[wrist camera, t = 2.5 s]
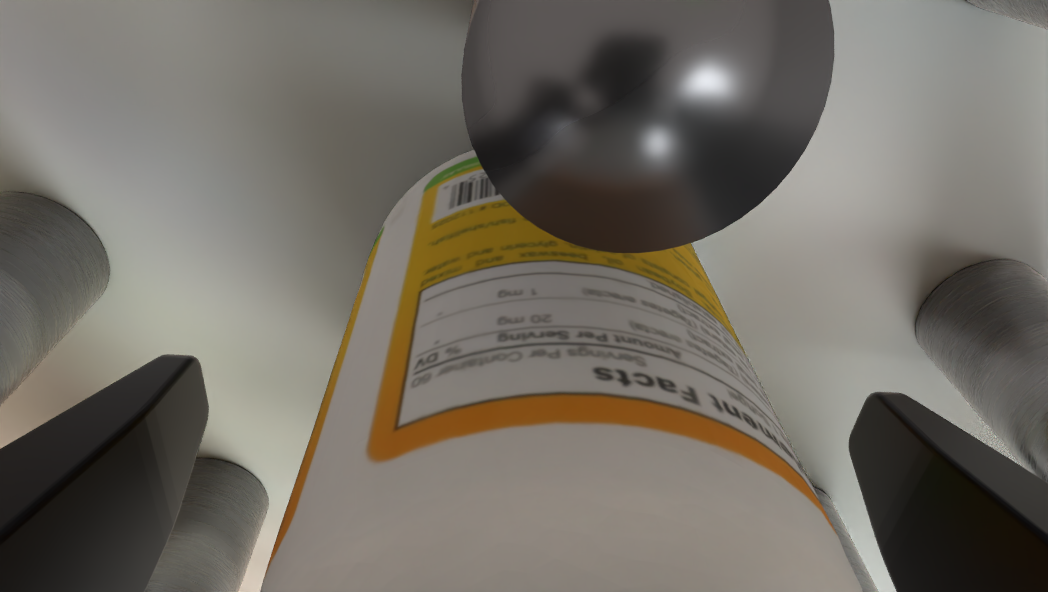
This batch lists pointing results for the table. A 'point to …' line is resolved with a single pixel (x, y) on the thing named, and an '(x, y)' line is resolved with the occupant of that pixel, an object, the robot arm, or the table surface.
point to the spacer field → (593, 207)
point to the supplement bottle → (543, 424)
